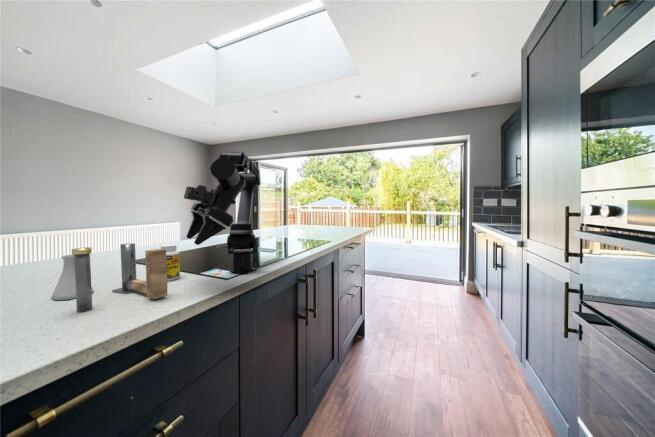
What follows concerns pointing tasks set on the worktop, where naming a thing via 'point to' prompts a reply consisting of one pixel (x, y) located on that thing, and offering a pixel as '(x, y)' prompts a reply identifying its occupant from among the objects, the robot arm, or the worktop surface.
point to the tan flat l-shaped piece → (153, 275)
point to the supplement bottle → (172, 261)
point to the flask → (66, 281)
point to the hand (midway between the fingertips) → (191, 241)
